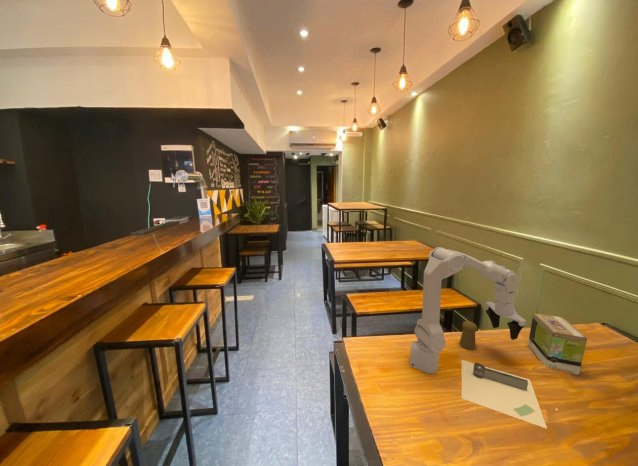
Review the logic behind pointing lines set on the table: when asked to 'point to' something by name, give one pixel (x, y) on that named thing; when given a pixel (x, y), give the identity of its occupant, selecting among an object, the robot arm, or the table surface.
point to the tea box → (557, 343)
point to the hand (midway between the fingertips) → (504, 332)
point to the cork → (468, 335)
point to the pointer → (499, 376)
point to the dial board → (501, 396)
